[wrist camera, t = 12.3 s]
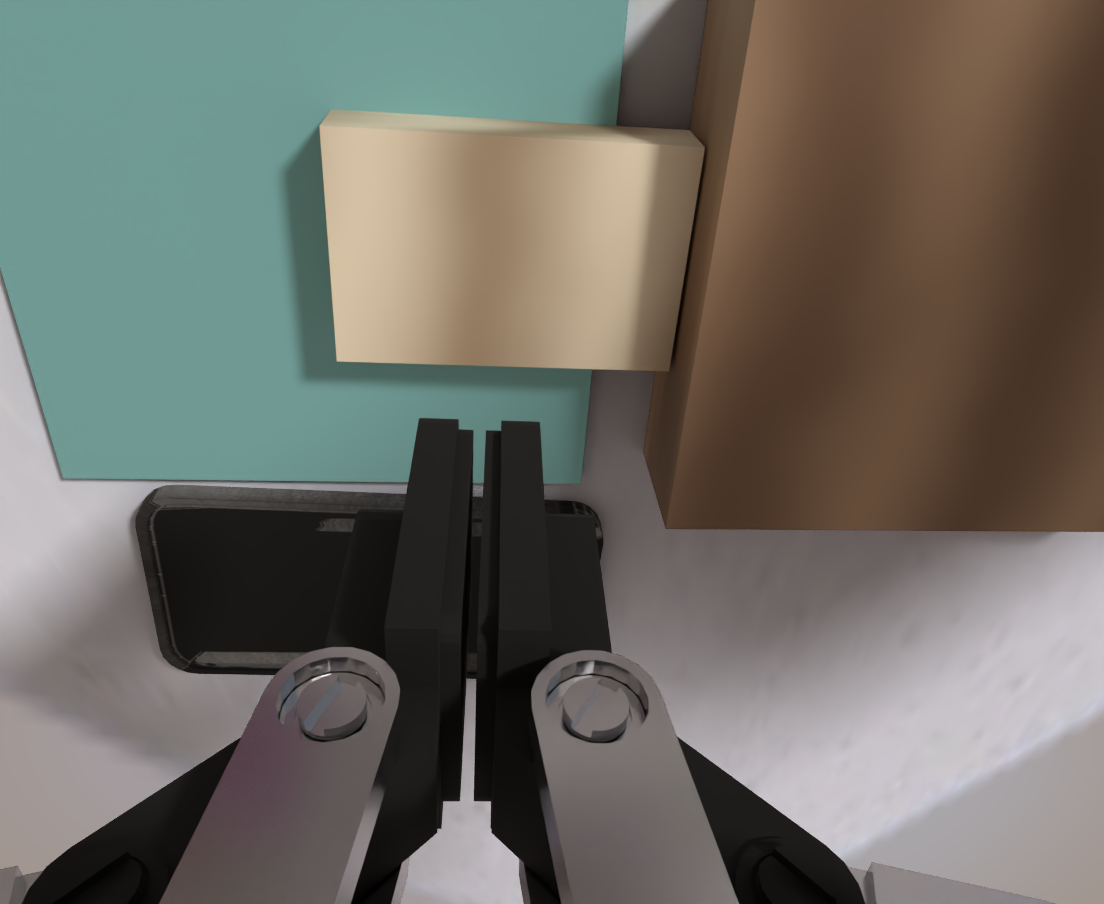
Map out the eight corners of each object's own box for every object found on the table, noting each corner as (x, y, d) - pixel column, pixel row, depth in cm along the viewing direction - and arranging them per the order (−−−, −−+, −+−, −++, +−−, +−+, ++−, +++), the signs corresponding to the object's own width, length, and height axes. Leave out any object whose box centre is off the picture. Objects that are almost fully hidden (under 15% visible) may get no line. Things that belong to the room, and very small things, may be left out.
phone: (579, 680, 32) (164, 673, 30) (576, 658, 33) (174, 650, 31) (608, 513, 28) (128, 494, 26) (603, 492, 29) (140, 473, 27)
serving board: (1406, 1, 22) (1574, 20, 18) (1160, 460, 29) (1248, 532, 26) (714, -47, 20) (761, -36, 17) (643, 452, 28) (665, 528, 24)
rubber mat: (636, -104, 19) (639, -104, 19) (579, 477, 28) (580, 484, 28) (-118, -162, 18) (-129, -163, 18) (68, 470, 27) (63, 478, 26)
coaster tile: (689, 130, 22) (705, 147, 20) (657, 343, 25) (668, 371, 24) (331, 109, 21) (319, 125, 20) (345, 332, 24) (336, 361, 23)
